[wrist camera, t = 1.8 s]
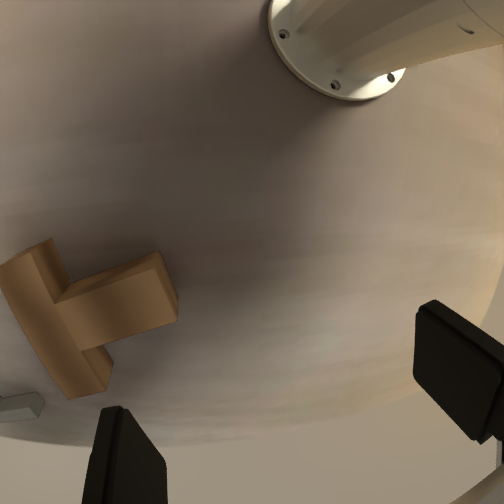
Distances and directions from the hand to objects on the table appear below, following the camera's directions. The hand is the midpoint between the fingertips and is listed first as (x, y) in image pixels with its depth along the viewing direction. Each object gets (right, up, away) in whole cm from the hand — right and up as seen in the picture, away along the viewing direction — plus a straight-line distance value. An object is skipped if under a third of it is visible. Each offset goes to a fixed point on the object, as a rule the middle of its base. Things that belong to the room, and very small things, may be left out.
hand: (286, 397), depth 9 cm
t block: (-13, +1, +15) cm, 20 cm away
